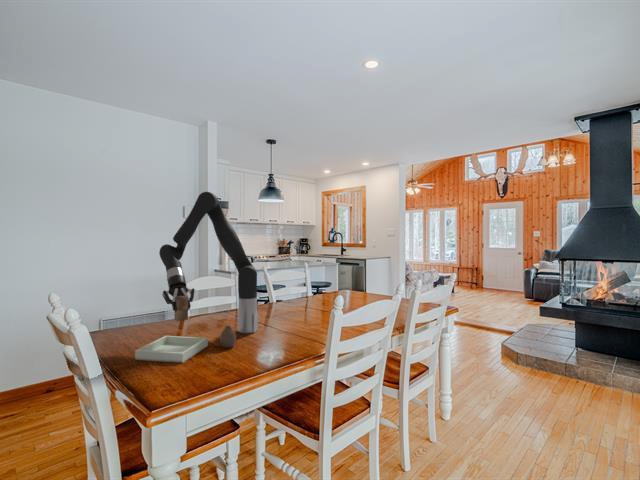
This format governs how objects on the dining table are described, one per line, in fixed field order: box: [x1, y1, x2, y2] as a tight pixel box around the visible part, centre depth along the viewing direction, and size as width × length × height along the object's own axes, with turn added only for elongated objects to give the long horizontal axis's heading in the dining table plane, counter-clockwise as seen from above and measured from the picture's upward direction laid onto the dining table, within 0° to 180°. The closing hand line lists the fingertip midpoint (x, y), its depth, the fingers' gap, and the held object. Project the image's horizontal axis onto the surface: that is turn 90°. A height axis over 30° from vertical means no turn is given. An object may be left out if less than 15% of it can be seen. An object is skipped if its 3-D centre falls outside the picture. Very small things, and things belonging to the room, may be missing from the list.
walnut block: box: [174, 296, 189, 322], centre depth 147 cm, size 5×5×10 cm
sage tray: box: [134, 335, 209, 364], centre depth 138 cm, size 20×20×4 cm
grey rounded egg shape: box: [219, 325, 237, 349], centre depth 146 cm, size 7×7×9 cm
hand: (182, 309), depth 146 cm, fingers closed on walnut block, 4 cm apart
